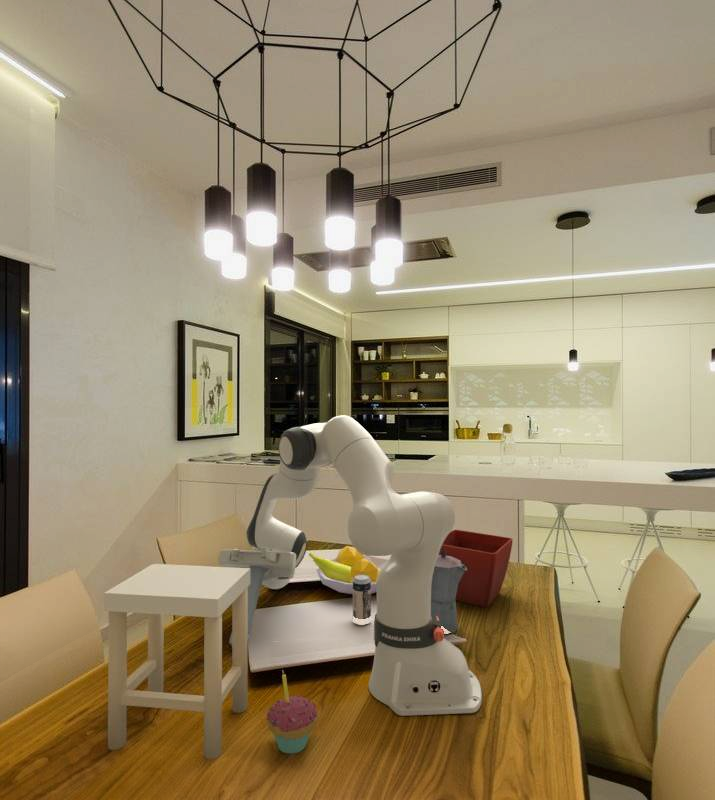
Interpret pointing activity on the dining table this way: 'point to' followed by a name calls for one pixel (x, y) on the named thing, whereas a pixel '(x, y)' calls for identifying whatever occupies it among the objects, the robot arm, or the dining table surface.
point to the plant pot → (479, 564)
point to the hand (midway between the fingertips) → (249, 552)
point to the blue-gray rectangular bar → (253, 591)
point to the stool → (159, 596)
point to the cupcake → (292, 721)
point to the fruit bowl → (348, 569)
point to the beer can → (361, 596)
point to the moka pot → (446, 590)
